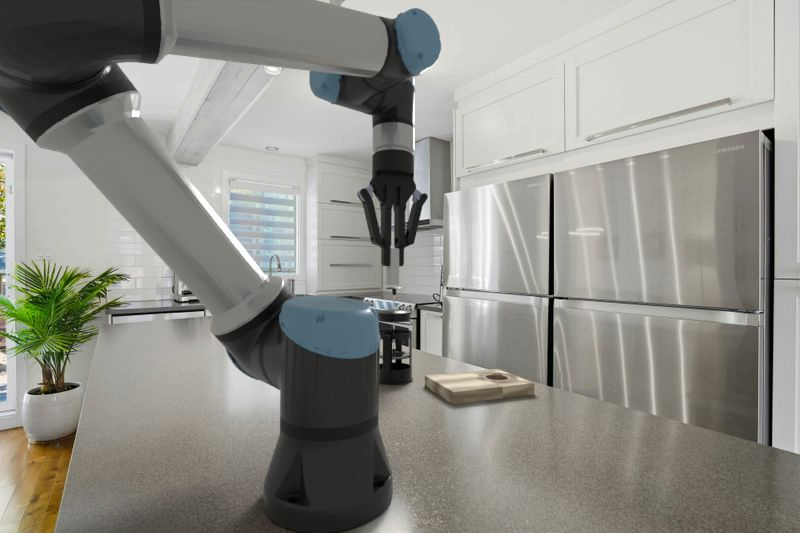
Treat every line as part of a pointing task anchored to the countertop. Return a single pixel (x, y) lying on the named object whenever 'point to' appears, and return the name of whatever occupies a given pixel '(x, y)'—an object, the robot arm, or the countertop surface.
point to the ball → (497, 376)
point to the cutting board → (477, 386)
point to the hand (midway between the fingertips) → (392, 284)
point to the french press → (395, 347)
